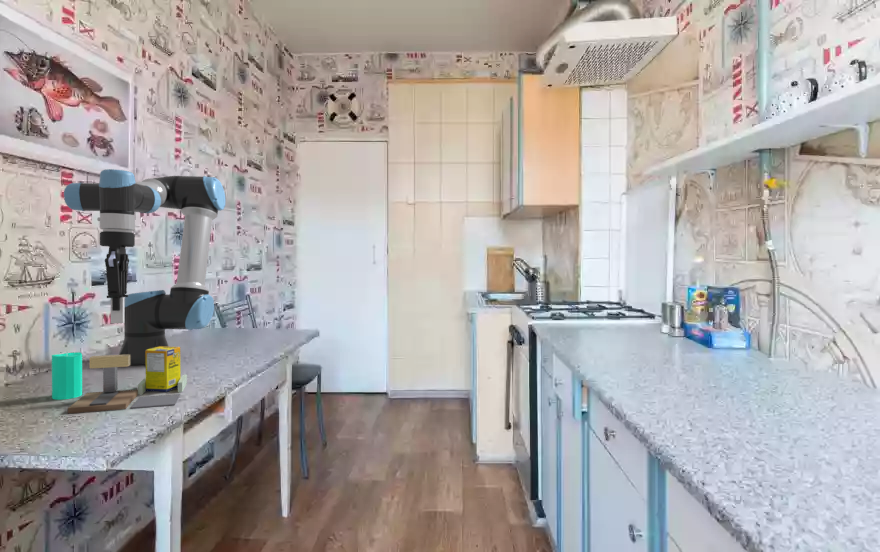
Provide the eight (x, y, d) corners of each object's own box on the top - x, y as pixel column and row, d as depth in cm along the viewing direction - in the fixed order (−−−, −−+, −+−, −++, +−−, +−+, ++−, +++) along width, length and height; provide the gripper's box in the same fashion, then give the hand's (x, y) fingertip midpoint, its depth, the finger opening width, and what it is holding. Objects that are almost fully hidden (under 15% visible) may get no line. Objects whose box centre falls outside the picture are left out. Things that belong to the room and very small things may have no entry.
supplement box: (181, 386, 132) (181, 346, 132) (166, 392, 126) (166, 350, 126) (160, 385, 132) (160, 345, 132) (145, 391, 127) (144, 349, 126)
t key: (92, 390, 120) (92, 355, 119) (130, 388, 122) (130, 354, 122) (89, 393, 117) (89, 357, 117) (128, 390, 120) (128, 356, 120)
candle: (50, 401, 117) (50, 351, 117) (53, 395, 122) (52, 347, 122) (81, 397, 120) (81, 349, 120) (83, 391, 125) (82, 345, 125)
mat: (139, 397, 121) (139, 396, 121) (180, 395, 124) (180, 393, 124) (130, 408, 112) (130, 407, 112) (174, 405, 115) (174, 403, 115)
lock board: (87, 397, 120) (87, 391, 120) (138, 394, 124) (138, 387, 124) (67, 413, 108) (67, 406, 108) (125, 409, 112) (125, 402, 112)
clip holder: (145, 386, 132) (145, 376, 132) (186, 383, 135) (186, 374, 135) (137, 395, 123) (137, 385, 123) (182, 391, 127) (182, 382, 127)
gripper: (107, 232, 130) (107, 320, 131) (91, 229, 118) (92, 326, 118) (140, 233, 132) (140, 319, 133) (128, 230, 120) (128, 325, 121)
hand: (117, 323), depth 126 cm, fingers closed
